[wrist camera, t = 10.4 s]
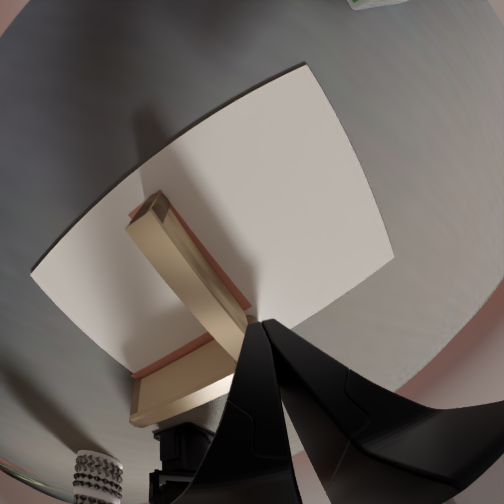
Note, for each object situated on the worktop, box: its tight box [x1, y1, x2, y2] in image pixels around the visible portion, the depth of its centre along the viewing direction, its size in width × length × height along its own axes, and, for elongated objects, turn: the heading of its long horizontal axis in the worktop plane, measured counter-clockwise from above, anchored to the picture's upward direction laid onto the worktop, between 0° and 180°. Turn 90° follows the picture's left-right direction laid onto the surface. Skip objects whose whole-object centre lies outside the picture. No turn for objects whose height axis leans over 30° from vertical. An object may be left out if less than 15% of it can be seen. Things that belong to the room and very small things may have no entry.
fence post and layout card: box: [30, 65, 394, 428], centre depth 17 cm, size 18×27×6 cm, turn 122°
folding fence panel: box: [125, 193, 248, 361], centre depth 17 cm, size 11×2×5 cm, turn 29°
